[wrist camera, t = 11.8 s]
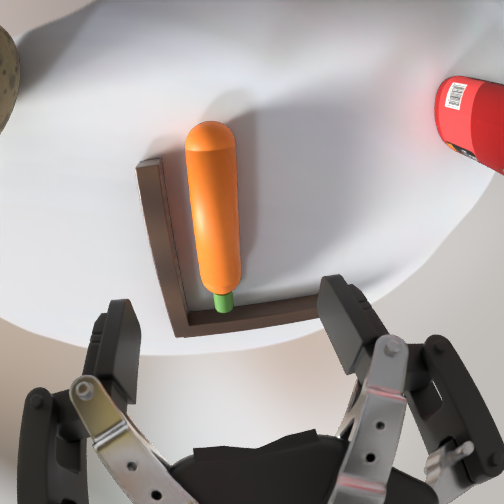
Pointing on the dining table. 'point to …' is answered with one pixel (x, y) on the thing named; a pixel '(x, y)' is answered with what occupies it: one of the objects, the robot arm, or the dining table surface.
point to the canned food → (472, 119)
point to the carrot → (215, 208)
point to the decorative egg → (8, 76)
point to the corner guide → (170, 278)
